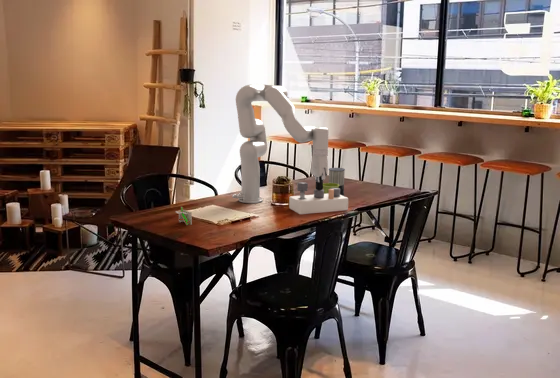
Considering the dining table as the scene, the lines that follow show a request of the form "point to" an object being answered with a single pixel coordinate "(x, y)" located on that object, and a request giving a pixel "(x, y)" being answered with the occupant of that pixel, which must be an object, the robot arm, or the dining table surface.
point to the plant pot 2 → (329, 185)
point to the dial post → (331, 194)
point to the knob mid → (318, 193)
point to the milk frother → (337, 178)
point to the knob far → (336, 192)
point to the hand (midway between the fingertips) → (319, 189)
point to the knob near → (302, 189)
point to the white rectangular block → (317, 204)
